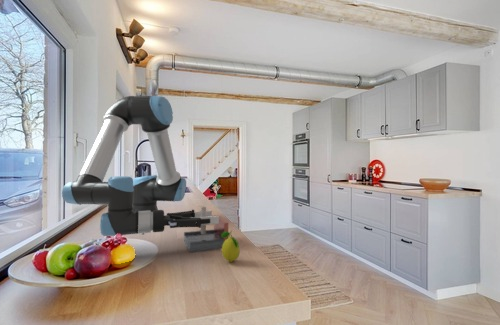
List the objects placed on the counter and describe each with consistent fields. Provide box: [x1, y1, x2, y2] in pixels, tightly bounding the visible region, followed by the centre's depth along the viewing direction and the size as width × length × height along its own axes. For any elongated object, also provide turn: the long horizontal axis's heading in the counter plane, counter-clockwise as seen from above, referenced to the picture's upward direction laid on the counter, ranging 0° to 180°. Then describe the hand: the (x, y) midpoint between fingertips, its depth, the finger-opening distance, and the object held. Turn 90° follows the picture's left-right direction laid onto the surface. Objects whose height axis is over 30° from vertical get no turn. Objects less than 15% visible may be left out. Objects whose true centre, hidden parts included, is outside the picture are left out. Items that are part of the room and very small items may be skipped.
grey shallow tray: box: [183, 214, 229, 253], centre depth 98 cm, size 14×14×9 cm
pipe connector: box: [190, 206, 208, 234], centre depth 97 cm, size 10×10×10 cm
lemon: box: [221, 231, 241, 263], centre depth 80 cm, size 7×6×10 cm
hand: (214, 216), depth 99 cm, fingers closed on pipe connector, 10 cm apart
